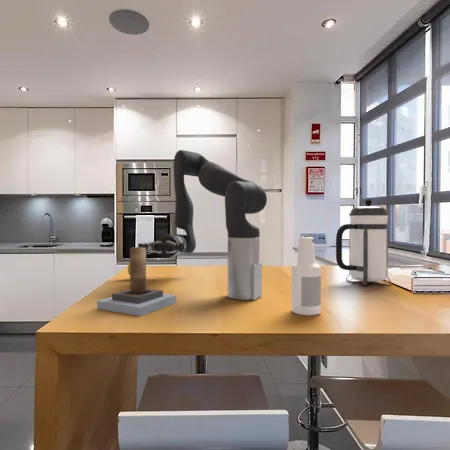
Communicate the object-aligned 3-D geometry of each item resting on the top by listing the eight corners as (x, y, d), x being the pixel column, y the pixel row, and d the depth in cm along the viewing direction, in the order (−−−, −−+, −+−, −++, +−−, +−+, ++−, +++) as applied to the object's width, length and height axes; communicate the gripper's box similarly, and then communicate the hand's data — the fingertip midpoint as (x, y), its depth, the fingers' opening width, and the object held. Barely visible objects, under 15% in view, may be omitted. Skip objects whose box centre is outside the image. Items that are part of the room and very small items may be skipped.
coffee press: (349, 277, 129) (349, 200, 129) (394, 282, 120) (395, 199, 119) (335, 284, 115) (335, 198, 115) (385, 290, 105) (386, 196, 105)
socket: (176, 302, 89) (176, 289, 89) (140, 316, 76) (140, 300, 76) (136, 297, 95) (136, 285, 95) (97, 308, 82) (97, 294, 82)
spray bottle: (315, 317, 75) (316, 238, 75) (287, 313, 79) (287, 237, 79) (324, 310, 81) (324, 237, 81) (297, 306, 85) (297, 236, 84)
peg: (149, 304, 86) (149, 247, 86) (138, 308, 83) (138, 248, 83) (137, 303, 88) (137, 246, 88) (126, 306, 85) (126, 248, 85)
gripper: (150, 235, 114) (131, 236, 98) (190, 234, 113) (178, 235, 96) (150, 256, 114) (131, 261, 98) (191, 256, 113) (178, 261, 96)
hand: (154, 248), depth 97 cm, fingers open, 8 cm apart
